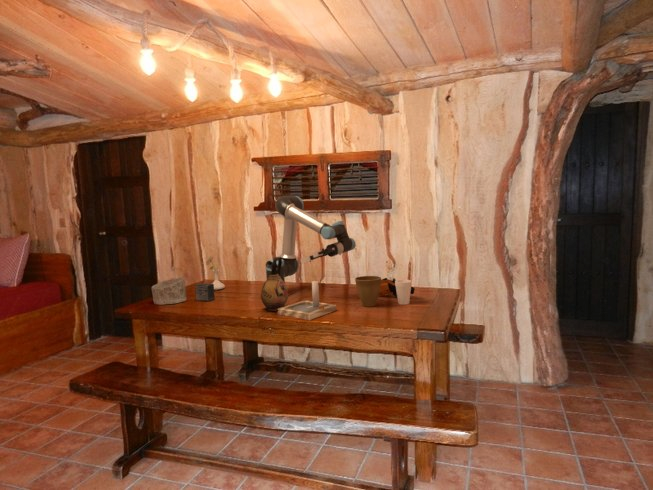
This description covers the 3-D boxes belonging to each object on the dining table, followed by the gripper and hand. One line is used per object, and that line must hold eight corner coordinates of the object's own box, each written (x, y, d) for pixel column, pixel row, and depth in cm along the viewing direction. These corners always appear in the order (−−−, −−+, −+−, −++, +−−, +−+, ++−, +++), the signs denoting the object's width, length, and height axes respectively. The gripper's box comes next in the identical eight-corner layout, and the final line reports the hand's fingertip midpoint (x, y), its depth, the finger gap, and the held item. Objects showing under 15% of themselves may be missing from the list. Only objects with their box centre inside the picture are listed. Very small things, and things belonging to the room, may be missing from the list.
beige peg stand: (299, 317, 236) (298, 287, 234) (288, 310, 250) (286, 282, 248) (326, 312, 243) (325, 283, 241) (314, 306, 257) (312, 278, 256)
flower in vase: (217, 287, 327) (215, 253, 324) (228, 288, 320) (226, 254, 318) (203, 290, 317) (201, 255, 314) (214, 292, 310) (211, 256, 307)
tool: (404, 311, 267) (412, 289, 263) (371, 294, 277) (379, 273, 273) (409, 308, 274) (417, 286, 270) (377, 291, 284) (384, 270, 279)
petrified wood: (148, 304, 279) (146, 281, 278) (167, 298, 295) (165, 276, 294) (173, 306, 273) (171, 282, 271) (191, 299, 289) (189, 276, 287)
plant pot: (383, 302, 263) (382, 275, 261) (380, 308, 248) (379, 280, 247) (357, 301, 266) (357, 275, 264) (353, 308, 252) (353, 280, 250)
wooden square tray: (277, 314, 245) (277, 305, 244) (305, 305, 263) (304, 296, 262) (309, 320, 231) (309, 310, 230) (336, 310, 249) (336, 301, 248)
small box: (215, 299, 287) (214, 283, 286) (208, 301, 281) (207, 285, 280) (202, 298, 291) (201, 282, 290) (195, 300, 285) (194, 284, 284)
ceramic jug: (277, 313, 246) (274, 259, 243) (256, 310, 254) (253, 258, 251) (295, 306, 260) (293, 255, 257) (274, 304, 268) (272, 254, 265)
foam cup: (413, 301, 262) (412, 279, 260) (410, 305, 253) (410, 282, 252) (396, 300, 265) (396, 279, 263) (394, 304, 256) (393, 282, 255)
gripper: (348, 249, 261) (321, 259, 248) (325, 260, 281) (298, 269, 268) (344, 237, 262) (316, 246, 249) (321, 249, 282) (294, 257, 269)
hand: (307, 258), depth 258 cm, fingers open, 13 cm apart
